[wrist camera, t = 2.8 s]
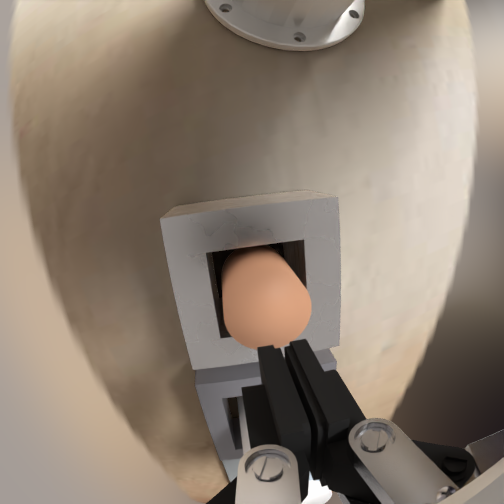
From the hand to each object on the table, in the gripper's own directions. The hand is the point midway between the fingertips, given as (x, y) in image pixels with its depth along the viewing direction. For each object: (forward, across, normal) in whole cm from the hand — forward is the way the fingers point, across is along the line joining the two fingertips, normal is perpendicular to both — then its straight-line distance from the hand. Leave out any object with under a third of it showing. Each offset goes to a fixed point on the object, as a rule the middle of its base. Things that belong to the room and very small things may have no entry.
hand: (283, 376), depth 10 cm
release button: (+9, 0, -1) cm, 9 cm away
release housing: (+12, 0, -1) cm, 12 cm away
